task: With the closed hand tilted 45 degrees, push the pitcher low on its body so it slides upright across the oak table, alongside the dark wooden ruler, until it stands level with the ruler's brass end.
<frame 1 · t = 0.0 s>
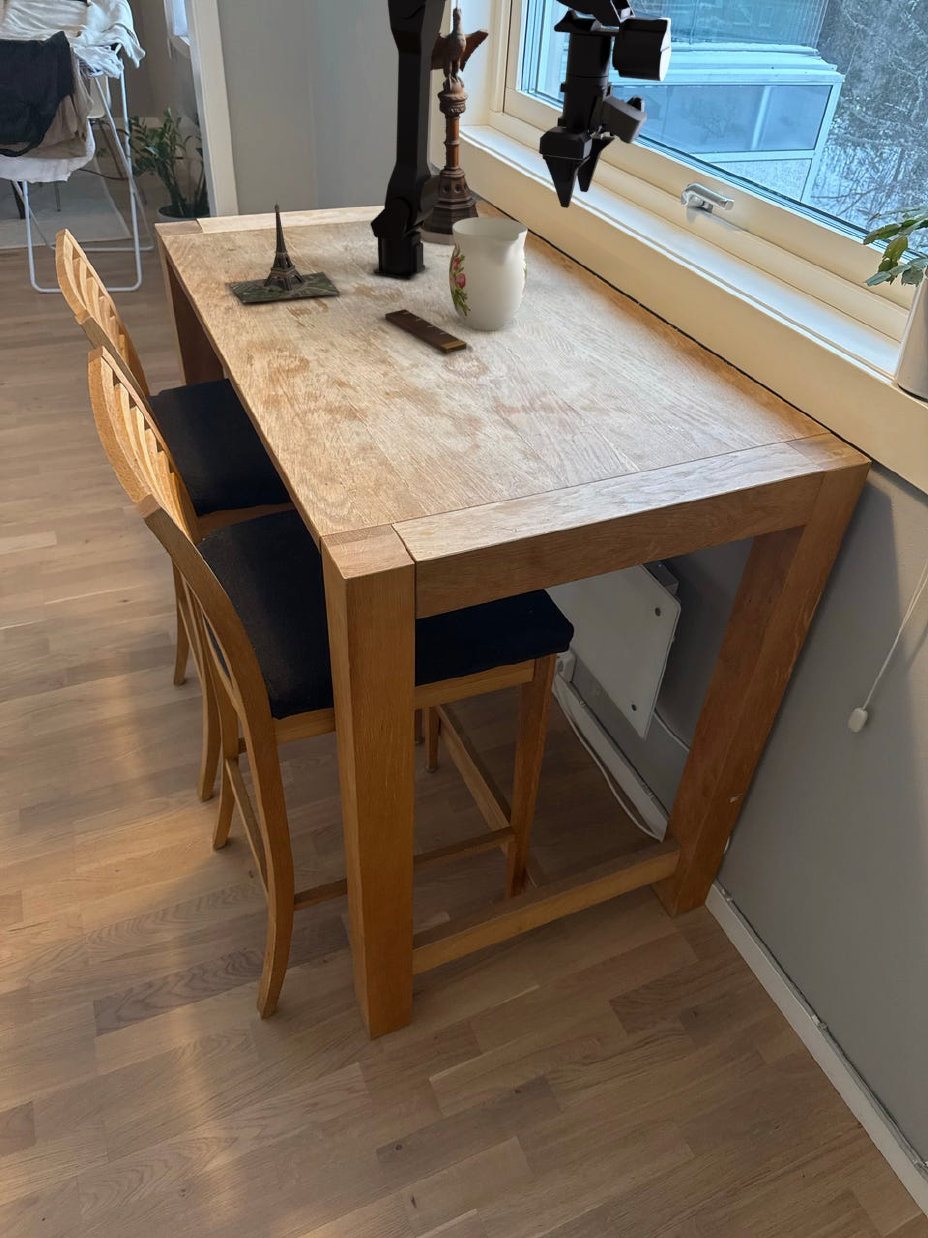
hand: (574, 199, 129), 15 cm above the table, tool pointing down, fingers open, 9 cm apart
bird statue: (439, 232, 164), on the table
pitcher: (483, 320, 132), on the table
eiffel tower figurine: (284, 291, 138), on the table
ruler: (424, 333, 127), on the table
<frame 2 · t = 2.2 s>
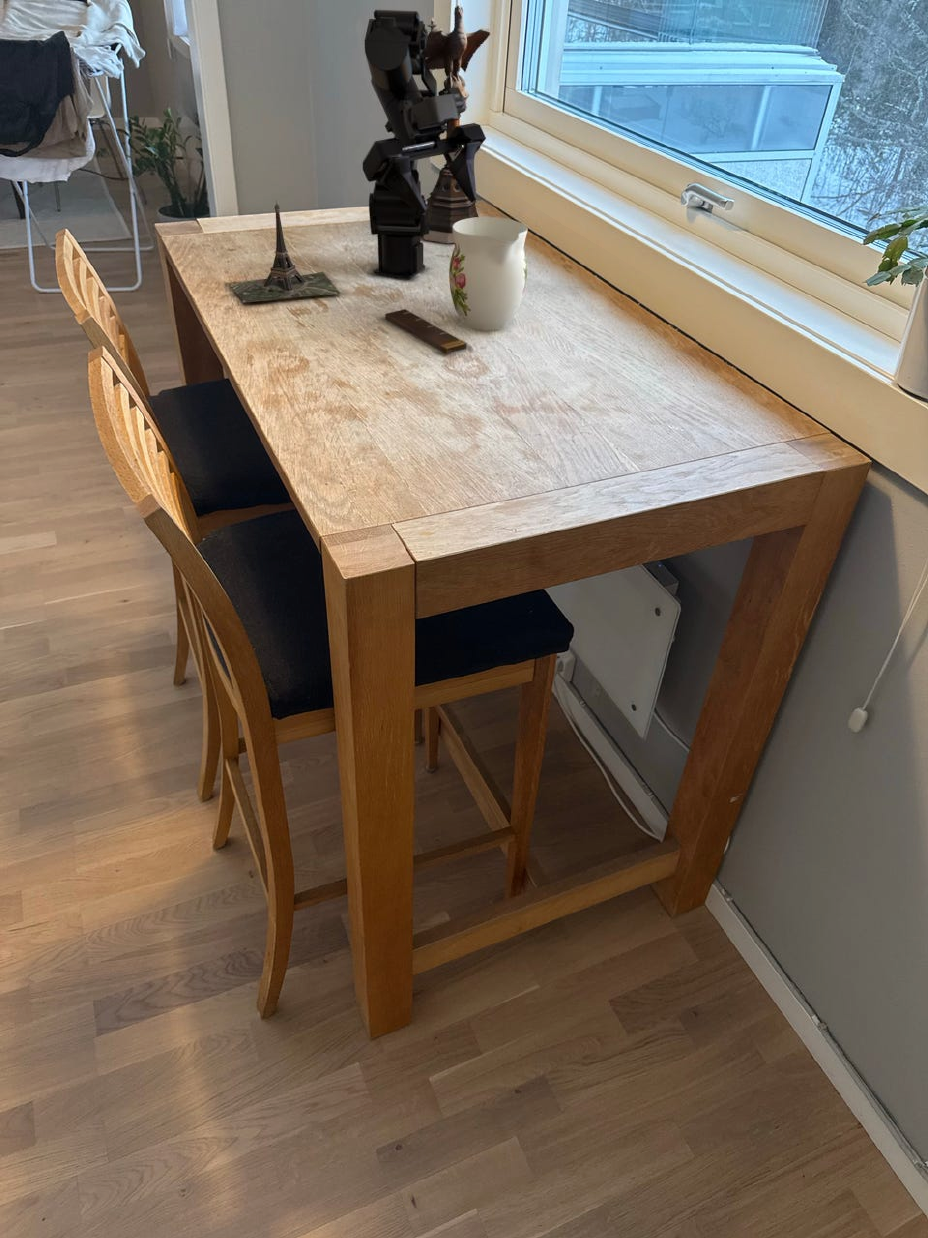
hand: (449, 206, 129), 13 cm above the table, tool tilted 45°, fingers open, 9 cm apart
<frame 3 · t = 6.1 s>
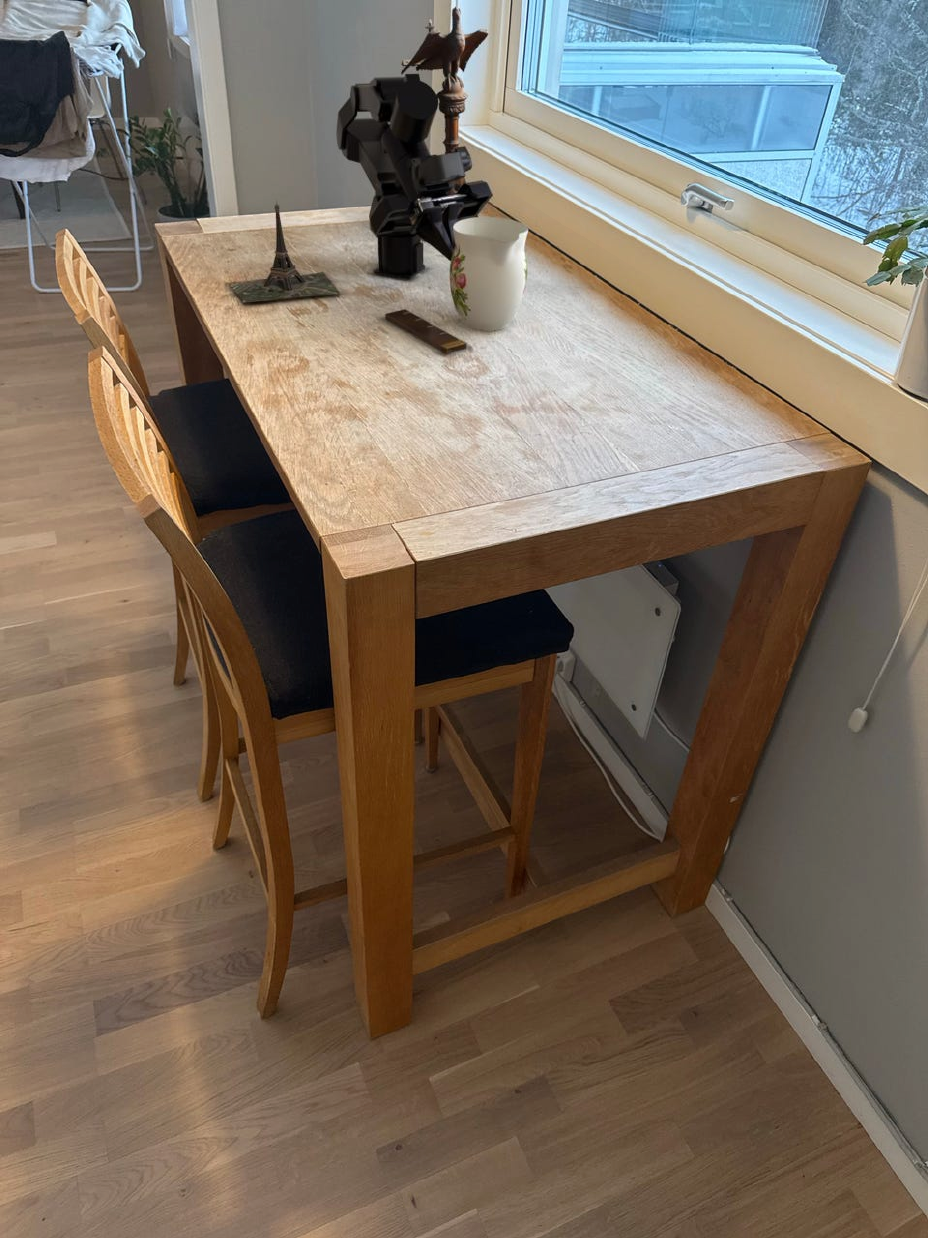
hand: (455, 260, 131), 7 cm above the table, tool tilted 45°, fingers closed
pitcher: (483, 320, 132), on the table, touching gripper
everything else where it was.
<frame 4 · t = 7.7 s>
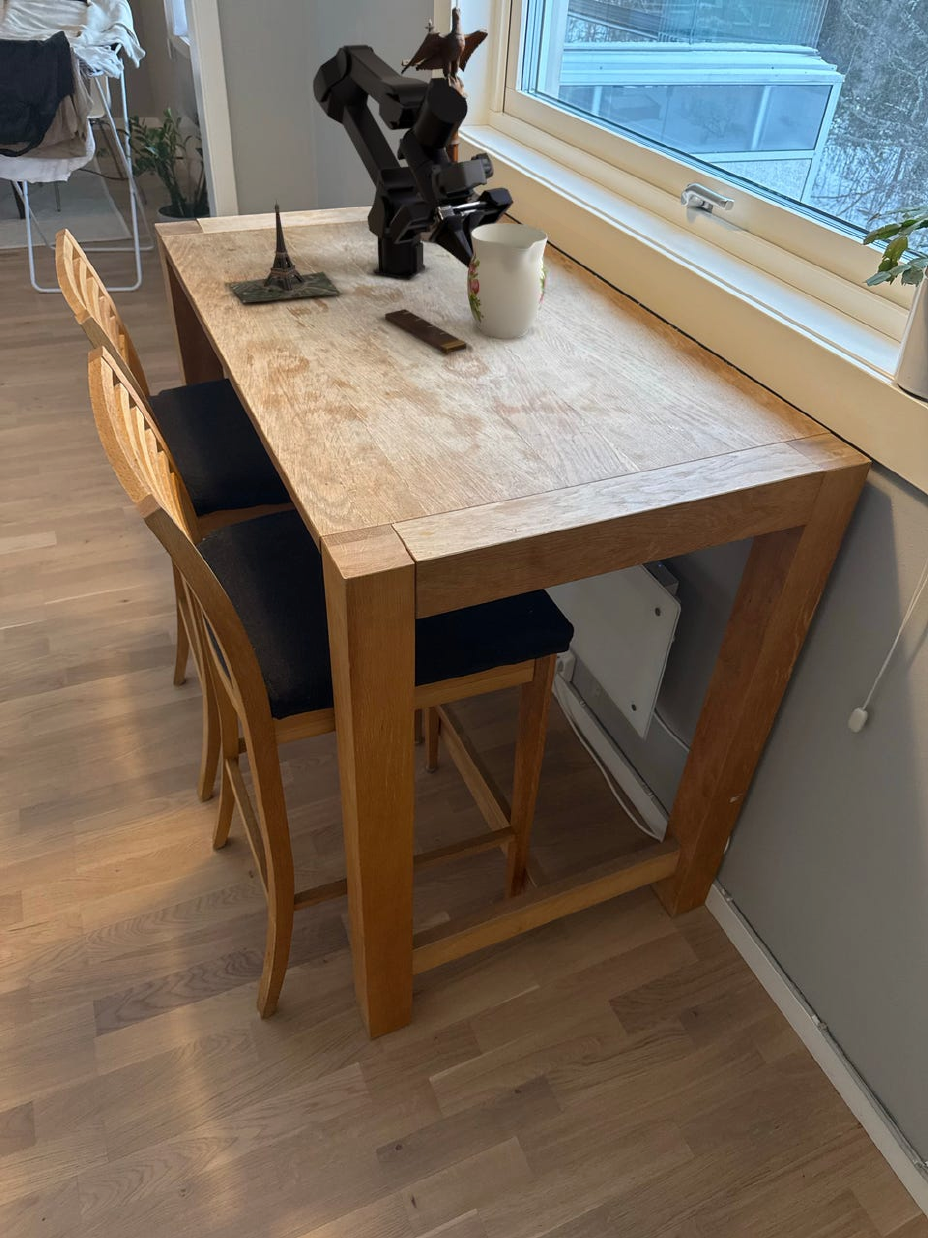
hand: (475, 269, 128), 7 cm above the table, tool tilted 45°, fingers closed
pitcher: (502, 328, 129), on the table, touching gripper
everything else where it was.
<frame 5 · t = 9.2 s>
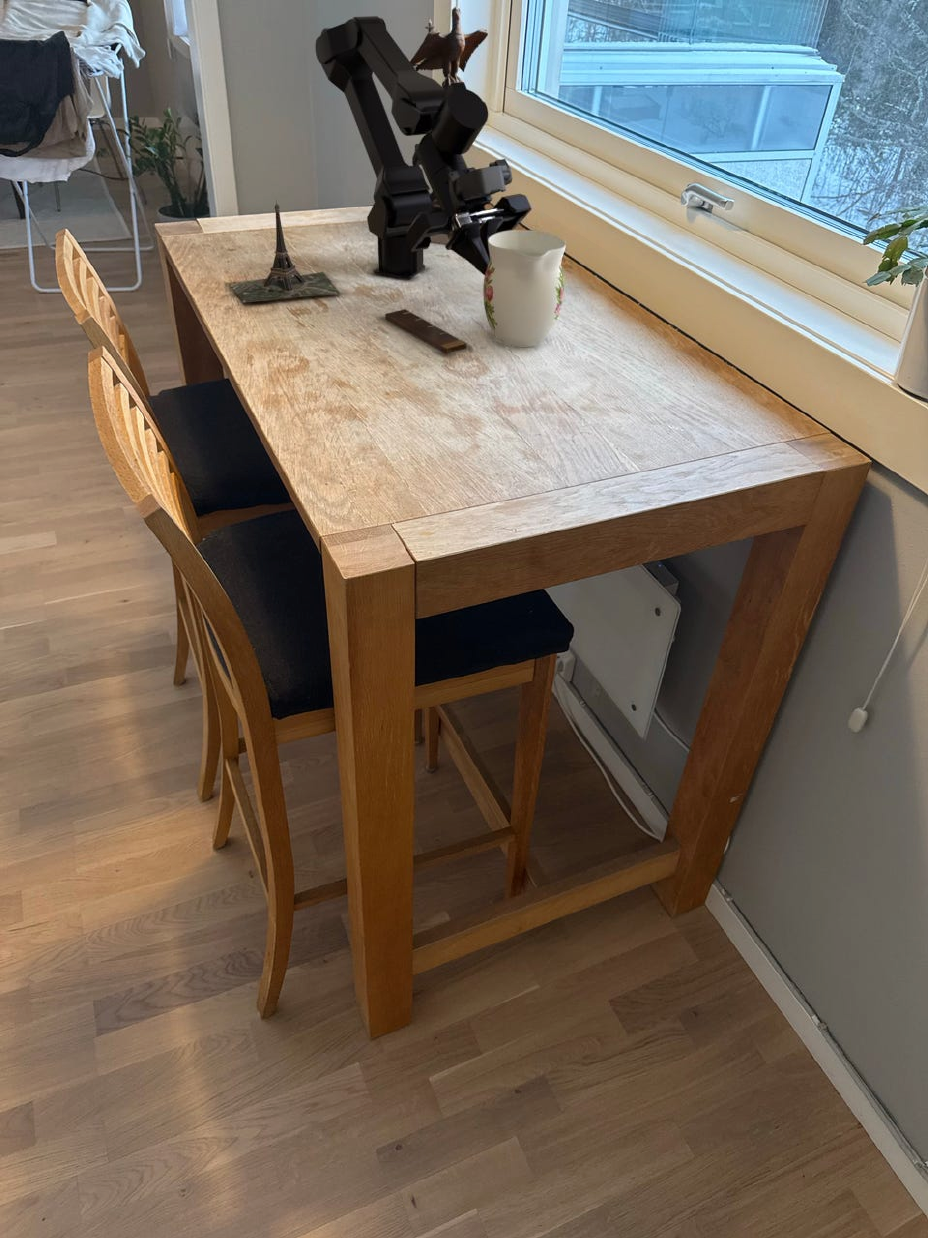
hand: (493, 277, 126), 7 cm above the table, tool tilted 45°, fingers closed
pitcher: (519, 336, 127), on the table, touching gripper
everything else where it was.
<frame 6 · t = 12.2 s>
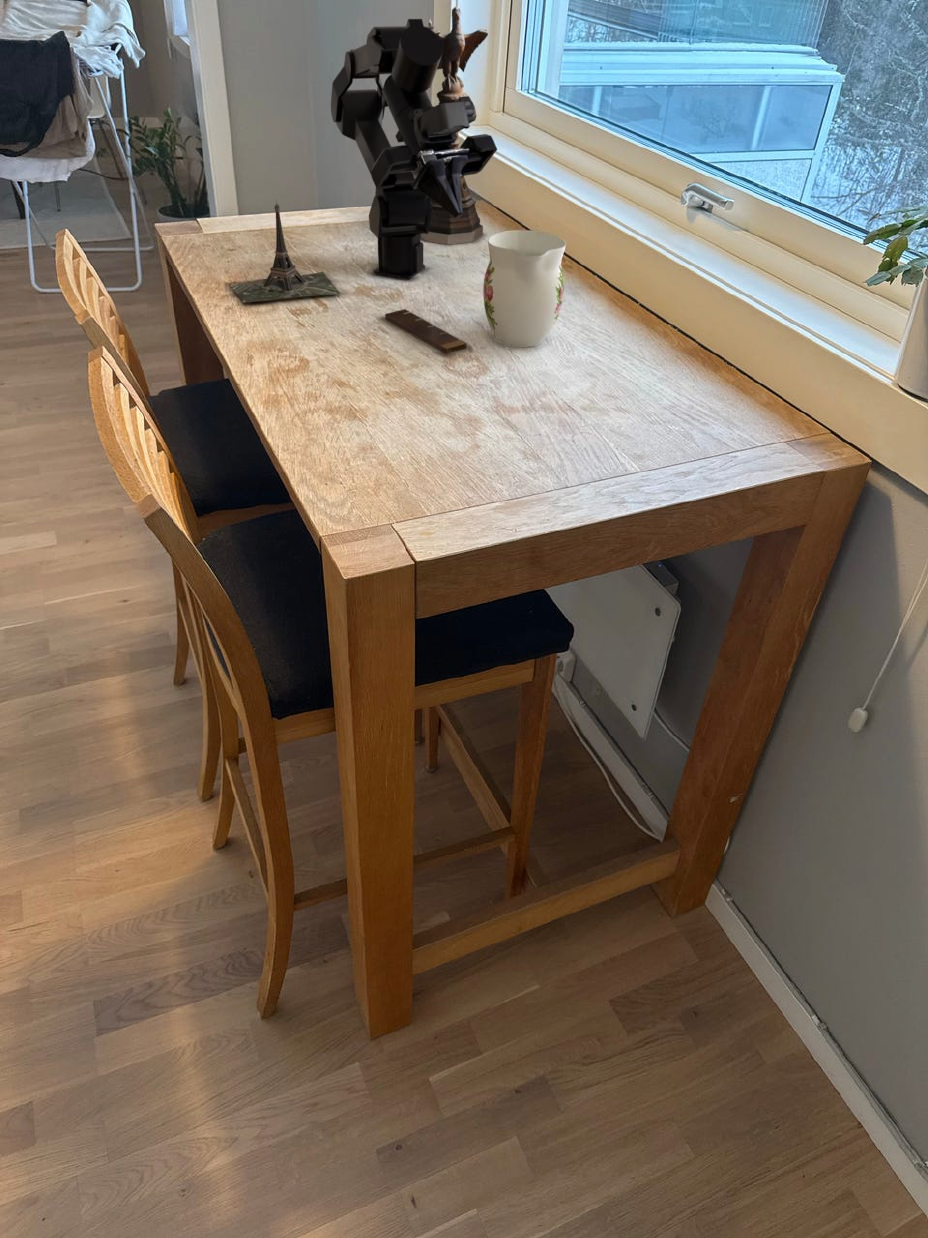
hand: (459, 215, 127), 13 cm above the table, tool tilted 45°, fingers closed
pitcher: (519, 336, 127), on the table
everything else where it was.
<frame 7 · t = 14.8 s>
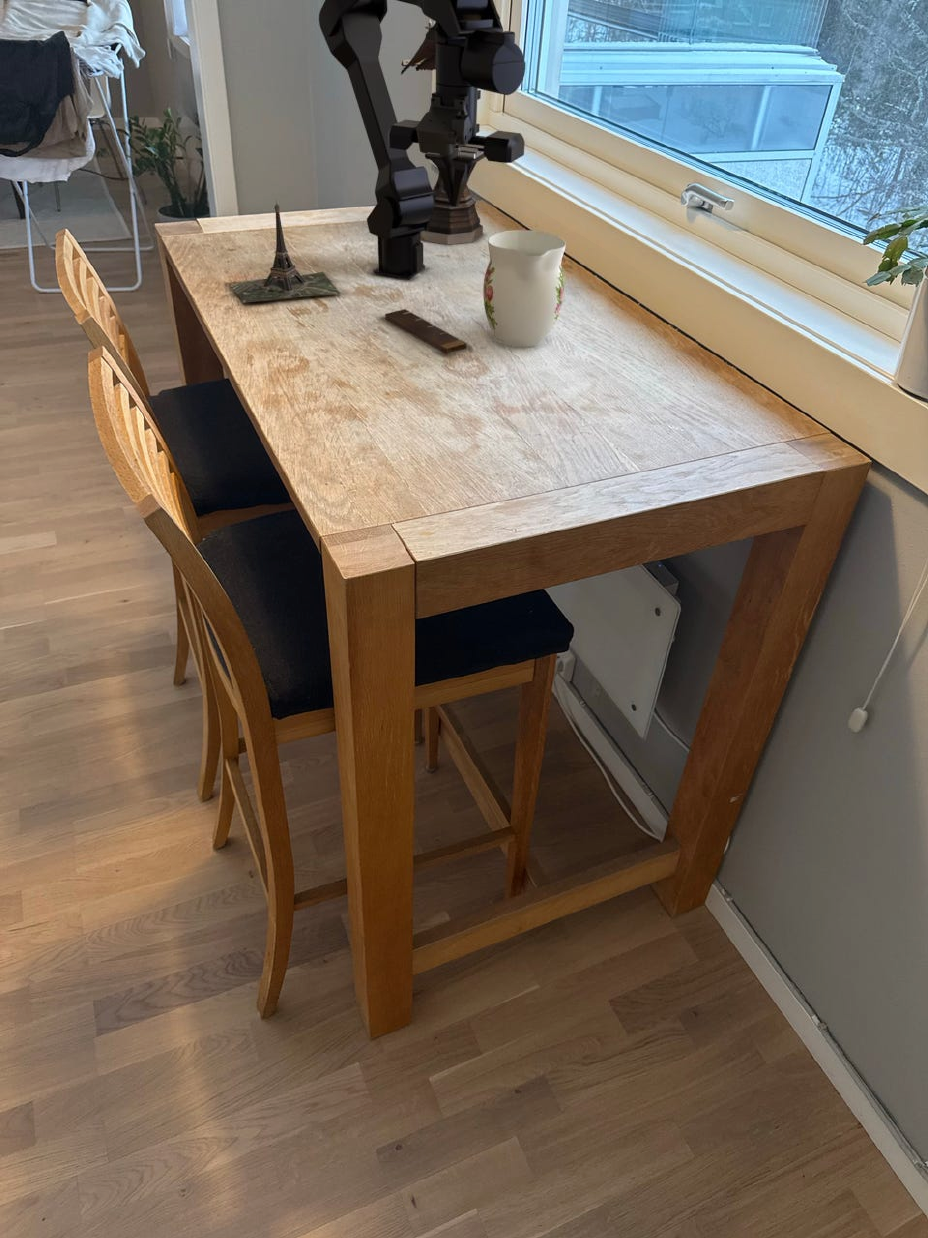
hand: (454, 206, 130), 13 cm above the table, tool pointing down, fingers closed
nothing on the table moved.
at the end: pitcher 0.9 cm from the target spot on the table beside the ruler, on the table; pitcher tilted 0° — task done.
